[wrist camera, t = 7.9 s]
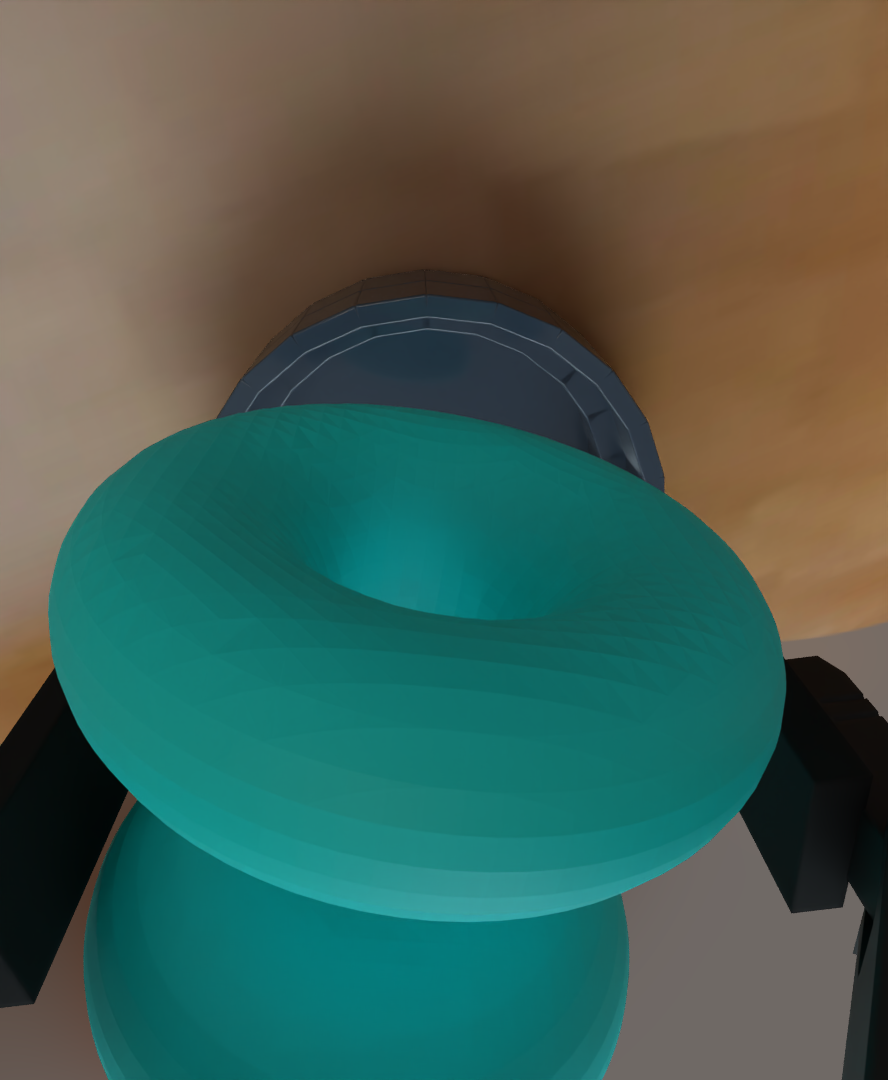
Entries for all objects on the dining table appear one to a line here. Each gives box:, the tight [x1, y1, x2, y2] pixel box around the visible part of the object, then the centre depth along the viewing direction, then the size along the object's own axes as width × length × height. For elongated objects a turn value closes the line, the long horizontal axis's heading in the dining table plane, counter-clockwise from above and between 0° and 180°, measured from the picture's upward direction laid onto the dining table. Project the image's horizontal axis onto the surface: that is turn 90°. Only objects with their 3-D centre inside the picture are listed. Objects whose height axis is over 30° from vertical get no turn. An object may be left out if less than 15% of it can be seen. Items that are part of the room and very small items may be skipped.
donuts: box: [48, 404, 786, 1080], centre depth 12 cm, size 10×10×10 cm
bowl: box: [216, 270, 664, 492], centre depth 31 cm, size 19×19×6 cm
